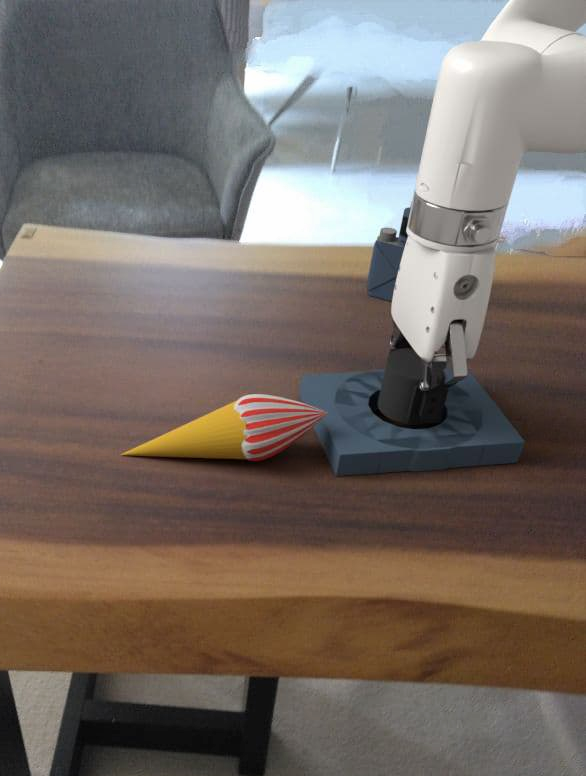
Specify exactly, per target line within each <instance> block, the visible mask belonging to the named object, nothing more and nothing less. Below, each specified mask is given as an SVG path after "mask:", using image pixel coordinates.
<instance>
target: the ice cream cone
mask: <svg viewBox="0 0 586 776" xmlns="http://www.w3.org/2000/svg"><path fill="white" fill-rule="evenodd" d="M327 413H328V412H325V411H323V410H320V409H318V408H315V407H312V406H310V405H307V404H304V403H302V401H301V402H300V401H297V400H293V399H289V398H285V397H281V396H277V395H271V394H262V393H253V394H252V393H251V394H246V395H243V396H241V397H240V398H238V399H237V400H235V401H233V402H231V403H229V404H226V405H224V406H222V407H220V408H218V409H215V410H213V411H211V412H208V413H207V414H205V415H203V416H201V417H198V418H196V419H194V420H192V421H190V422H188V423H186V424H183V425H181V426H179V427H177V428H174V429H172V430H170V431H168V432H166V433H164V434H162V435H160V436H157V437H155V438H153V439H151V440H148V441H147V442H144V443H142V444H140V445H138V446H136V447H134V448H131V449H130V450H127V451H125V452H123V453H121V454H120V456H131V457H133V456H134V457H161V458H163V457H164V458H166V457H167V458H195V459H222V460H223V459H224V460H225V459H230V460H248V461H252V462H260V461H264V460H267V459H270V458H271V457H273V456H276V455H278V454H279V453H280V452H283V451H284V450H285V449H287V448H288V447H289V446H291V445H292V444H294V443H296V441H298V440H300V439H301V438H302V437H303V436H304V435H306V434H307V433H308V432H309V431H311V429H313V428H314V427H313V426H315V425H316V424H317V423H318V422H319V421H320V420H321V419H322V418H323V417H324V416H325V415H326V414H327Z"/></svg>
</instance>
